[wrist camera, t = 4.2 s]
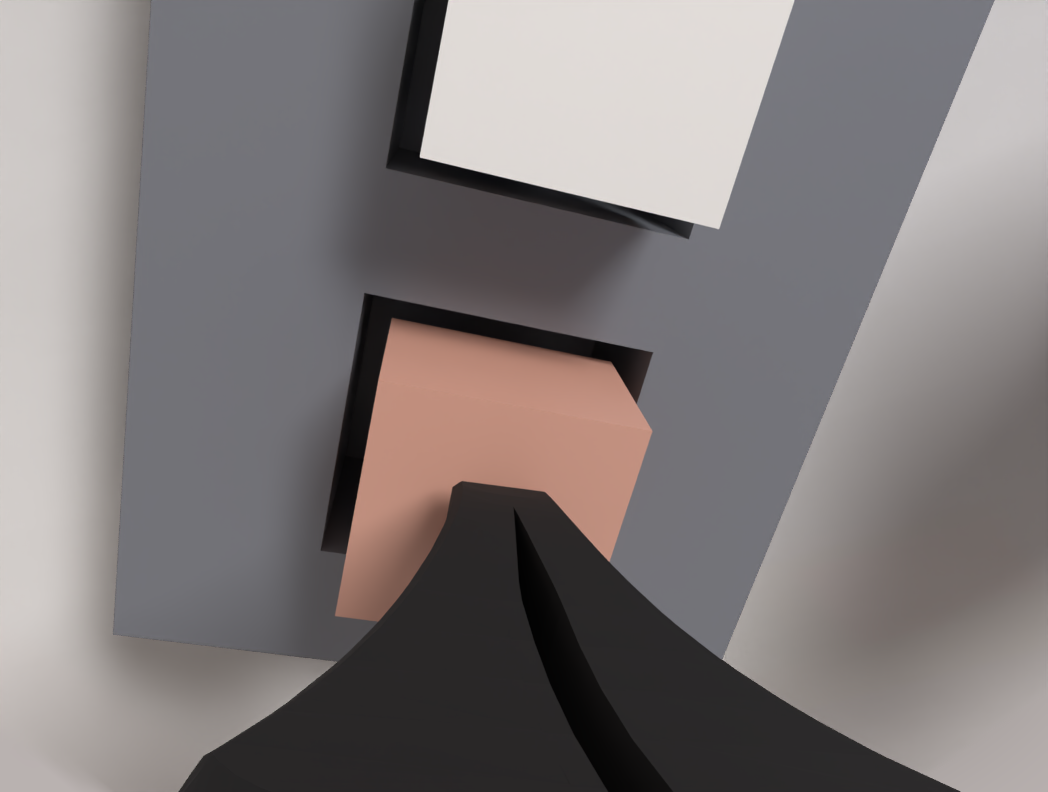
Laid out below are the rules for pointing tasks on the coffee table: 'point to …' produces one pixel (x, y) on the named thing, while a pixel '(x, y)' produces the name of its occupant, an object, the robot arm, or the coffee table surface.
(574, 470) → the red key
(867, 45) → the key housing
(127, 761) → the coffee table surface
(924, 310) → the coffee table surface
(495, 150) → the white key
